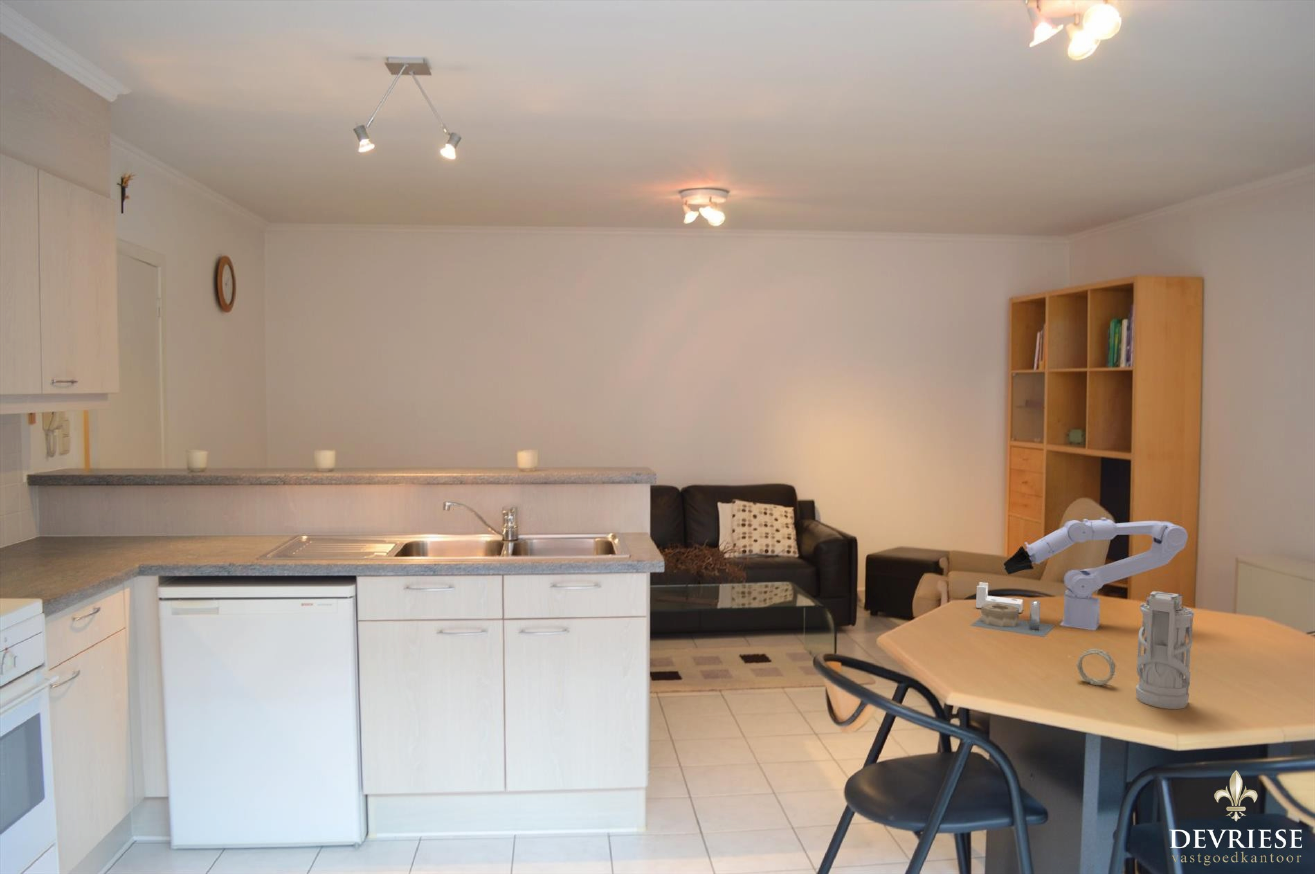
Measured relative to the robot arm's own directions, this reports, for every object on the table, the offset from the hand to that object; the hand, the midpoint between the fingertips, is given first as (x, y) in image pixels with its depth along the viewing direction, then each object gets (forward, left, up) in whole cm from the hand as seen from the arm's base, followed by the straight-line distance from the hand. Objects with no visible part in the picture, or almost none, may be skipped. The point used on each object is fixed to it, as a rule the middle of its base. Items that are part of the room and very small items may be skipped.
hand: (1005, 569), depth 278 cm
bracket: (+4, -14, -16) cm, 21 cm away
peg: (-10, +6, -15) cm, 19 cm away
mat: (-4, +5, -15) cm, 17 cm away
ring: (0, +4, -15) cm, 16 cm away
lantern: (-46, +55, -16) cm, 73 cm away
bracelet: (-32, +49, -16) cm, 61 cm away
